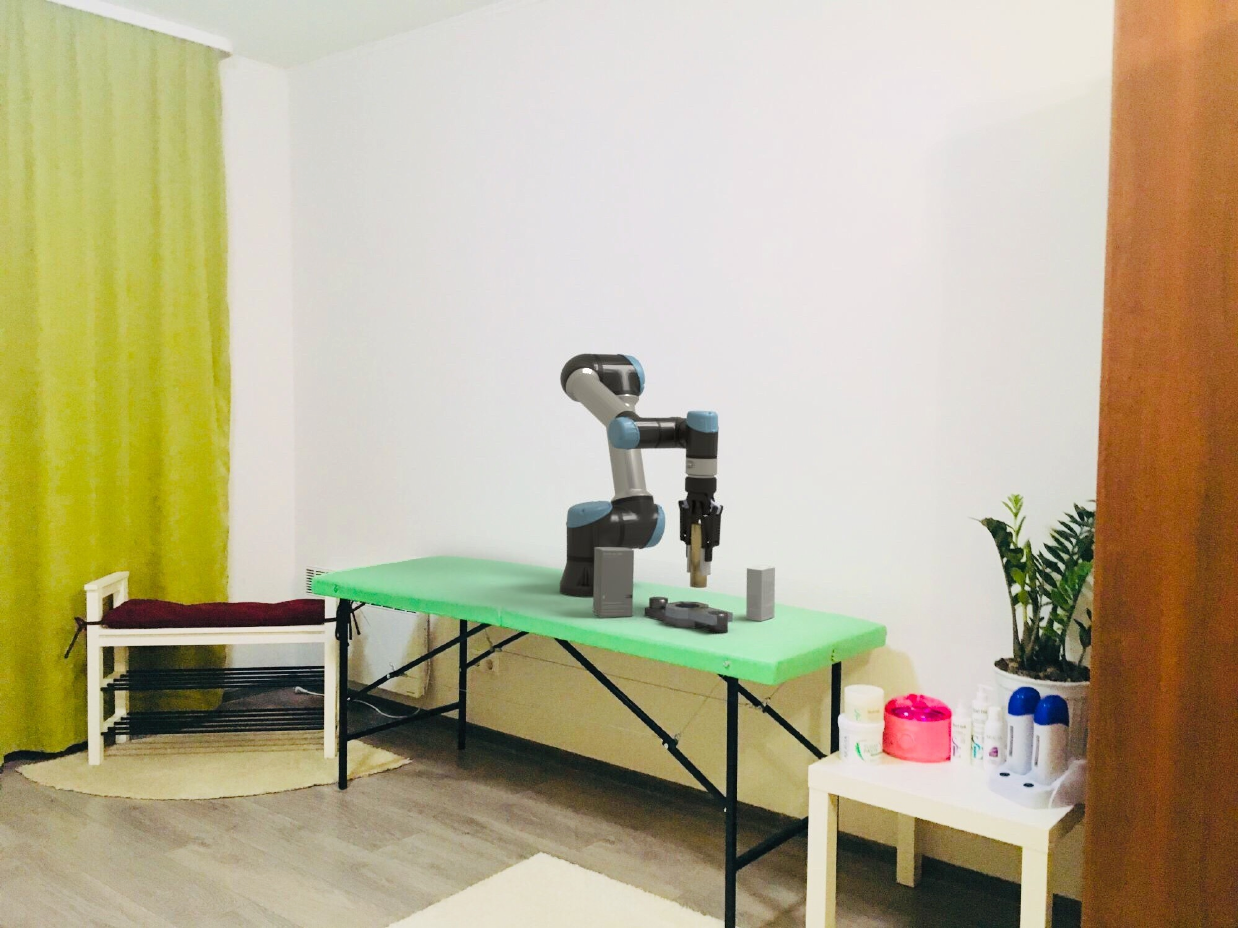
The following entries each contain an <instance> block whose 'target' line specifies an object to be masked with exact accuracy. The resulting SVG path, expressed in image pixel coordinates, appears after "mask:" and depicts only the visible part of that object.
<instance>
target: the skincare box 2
mask: <svg viewBox="0 0 1238 928" xmlns="http://www.w3.org/2000/svg"><path fill="white" fill-rule="evenodd" d="M775 576H776V567H775V566H770V565H765V564H759V565H755V566H751V567H747V568H746V619H747V620H749V621H756V622H763V621H766V620H770V619H772V618H775V603H776V602H775V598H776V597H775V594H776V593H775V592H776V591H775V587H776V577H775Z"/></svg>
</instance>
